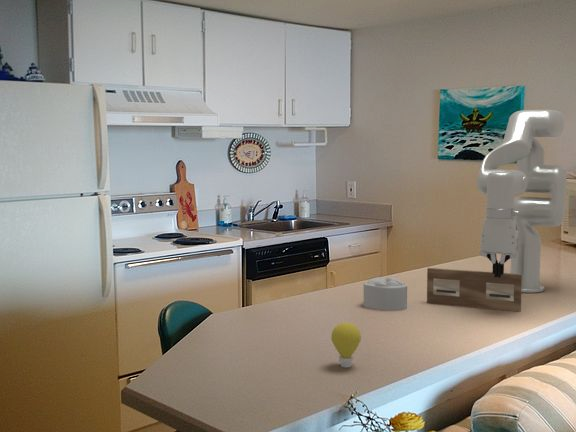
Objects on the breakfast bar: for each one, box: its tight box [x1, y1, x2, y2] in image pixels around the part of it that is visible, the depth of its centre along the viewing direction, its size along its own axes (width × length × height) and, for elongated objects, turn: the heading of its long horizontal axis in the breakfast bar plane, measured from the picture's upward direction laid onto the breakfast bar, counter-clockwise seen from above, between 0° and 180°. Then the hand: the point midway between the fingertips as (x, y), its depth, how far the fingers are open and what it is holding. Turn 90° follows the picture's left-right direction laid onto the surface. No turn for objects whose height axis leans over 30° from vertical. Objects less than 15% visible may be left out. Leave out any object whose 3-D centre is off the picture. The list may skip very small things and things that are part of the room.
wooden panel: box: [426, 267, 522, 313], centre depth 212 cm, size 2×28×11 cm, turn 66°
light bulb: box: [330, 321, 362, 368], centre depth 157 cm, size 7×7×10 cm
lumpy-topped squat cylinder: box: [363, 276, 408, 312], centre depth 213 cm, size 10×13×9 cm
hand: (498, 276), depth 203 cm, fingers closed
